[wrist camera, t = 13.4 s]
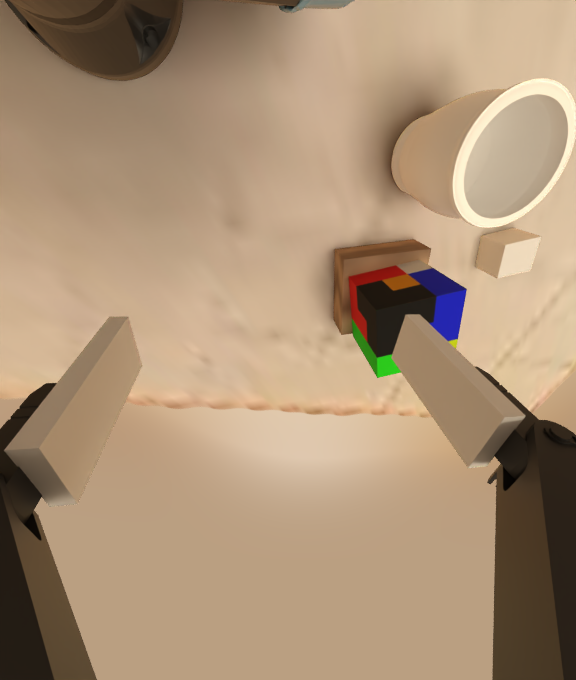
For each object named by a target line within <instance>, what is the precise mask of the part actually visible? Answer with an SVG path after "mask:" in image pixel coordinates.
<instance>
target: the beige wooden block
mask: <svg viewBox="0 0 576 680" xmlns="http://www.w3.org/2000/svg"><path fill="white" fill-rule="evenodd" d="M540 239H541V236H538V235H535V234H532V233H529V232H525V231H522V230H519V229H515V228H511V229H507V230H503V231H499V232H494V233H490V234H486V235H482V236H481V239H480V244H479V249H478V254H477V260H476V265H475V267H476V268H478V269H480V270H482V271H484V272H486V273H488V274H490V275H492V276H494V277H495V278H502V277H506V276H510V275H514V274H518V273H522V272H527V271H531V268H532V265H533V261H534V258H535V255H536V252H537V249H538V246H539V242H540Z"/></svg>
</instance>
